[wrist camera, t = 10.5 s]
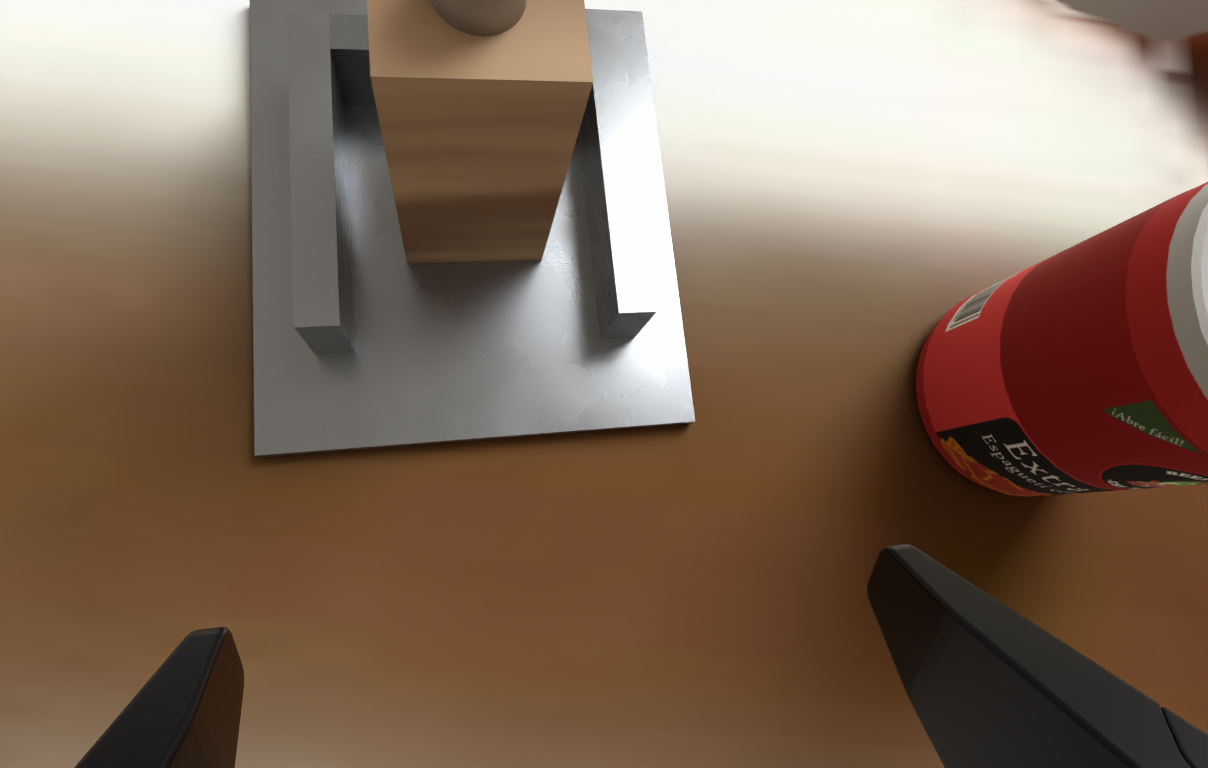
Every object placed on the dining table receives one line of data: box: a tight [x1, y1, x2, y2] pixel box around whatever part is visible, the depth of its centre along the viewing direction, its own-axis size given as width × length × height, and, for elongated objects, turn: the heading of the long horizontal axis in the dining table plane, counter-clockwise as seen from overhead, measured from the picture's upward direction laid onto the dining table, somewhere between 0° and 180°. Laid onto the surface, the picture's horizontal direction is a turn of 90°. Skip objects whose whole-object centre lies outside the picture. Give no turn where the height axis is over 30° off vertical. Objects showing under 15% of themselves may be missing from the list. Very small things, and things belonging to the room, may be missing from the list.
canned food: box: [916, 182, 1208, 497], centre depth 22 cm, size 8×8×11 cm
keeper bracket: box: [250, 0, 695, 457], centre depth 23 cm, size 16×14×4 cm
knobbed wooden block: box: [367, 0, 593, 263], centre depth 19 cm, size 4×4×12 cm
